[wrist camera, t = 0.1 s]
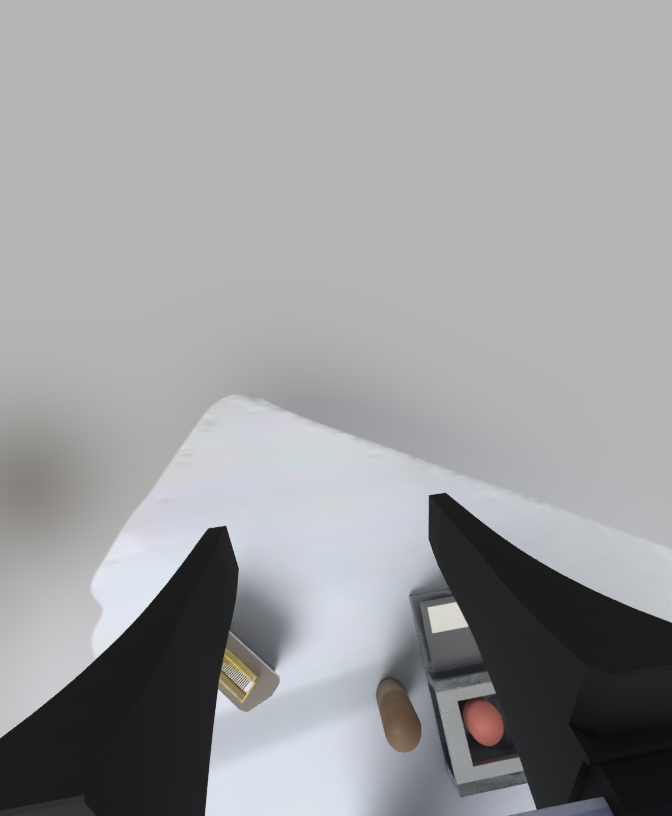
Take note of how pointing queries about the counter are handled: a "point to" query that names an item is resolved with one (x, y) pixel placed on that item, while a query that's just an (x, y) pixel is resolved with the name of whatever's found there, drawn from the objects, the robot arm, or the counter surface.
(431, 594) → the silver metal box
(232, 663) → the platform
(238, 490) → the counter surface
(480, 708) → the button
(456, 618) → the rocker
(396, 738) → the brown cylinder
